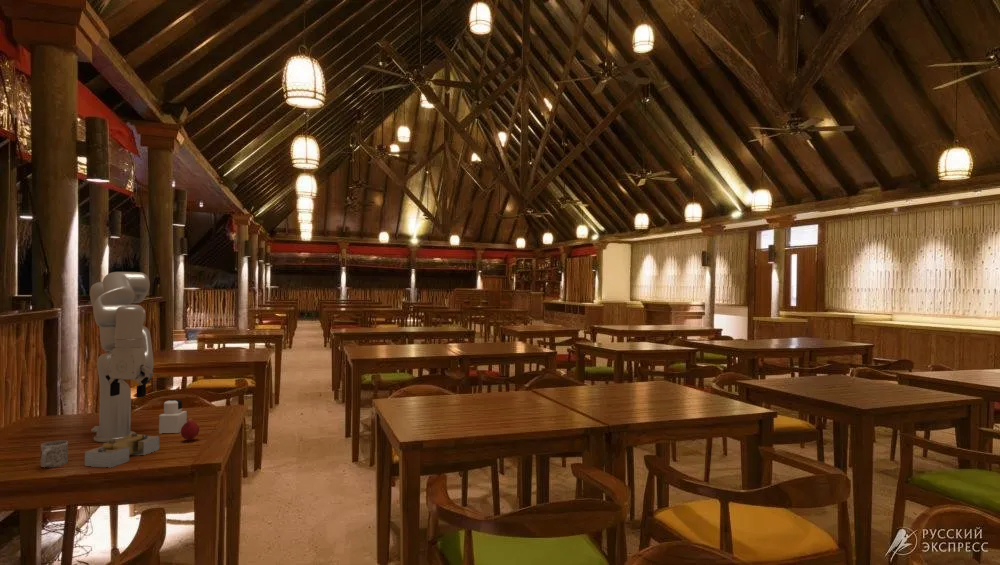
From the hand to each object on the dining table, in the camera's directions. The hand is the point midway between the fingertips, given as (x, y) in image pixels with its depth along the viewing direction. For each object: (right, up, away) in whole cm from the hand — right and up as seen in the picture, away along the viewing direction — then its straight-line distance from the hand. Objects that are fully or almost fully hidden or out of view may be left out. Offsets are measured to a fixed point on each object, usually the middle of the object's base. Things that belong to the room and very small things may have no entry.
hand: (127, 396), depth 186 cm
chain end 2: (+2, -19, +3) cm, 20 cm away
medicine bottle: (-4, -20, +32) cm, 38 cm away
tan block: (0, -18, -3) cm, 18 cm away
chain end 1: (0, -19, -9) cm, 21 cm away
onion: (+11, -20, +18) cm, 29 cm away
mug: (-16, -19, -12) cm, 28 cm away
